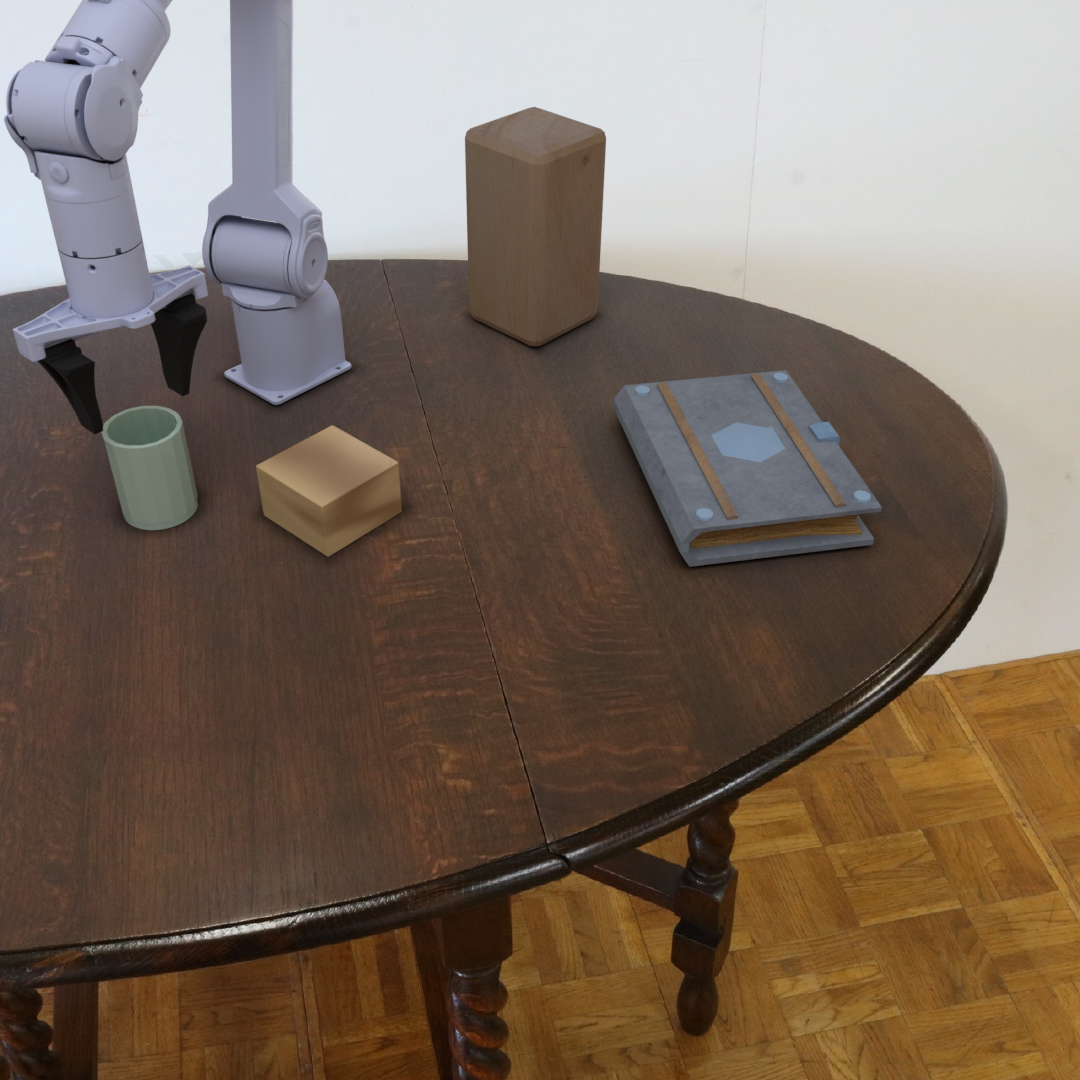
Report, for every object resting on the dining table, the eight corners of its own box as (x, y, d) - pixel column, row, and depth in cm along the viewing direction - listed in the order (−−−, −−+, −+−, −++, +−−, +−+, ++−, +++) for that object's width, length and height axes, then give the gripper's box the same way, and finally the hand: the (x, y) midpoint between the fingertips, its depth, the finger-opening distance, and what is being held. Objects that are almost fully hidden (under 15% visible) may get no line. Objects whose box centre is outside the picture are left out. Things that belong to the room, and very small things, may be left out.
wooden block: (601, 318, 124) (611, 127, 111) (535, 353, 118) (538, 155, 105) (531, 287, 129) (533, 101, 116) (465, 319, 123) (460, 127, 111)
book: (612, 425, 108) (615, 377, 105) (783, 408, 111) (791, 361, 108) (678, 572, 92) (683, 521, 89) (876, 548, 95) (889, 498, 92)
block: (338, 473, 101) (332, 424, 98) (402, 511, 97) (399, 461, 94) (263, 515, 97) (255, 465, 94) (328, 557, 93) (321, 506, 90)
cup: (170, 477, 101) (152, 397, 96) (213, 506, 98) (197, 424, 93) (108, 509, 97) (86, 427, 92) (151, 540, 94) (130, 457, 89)
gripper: (33, 293, 77) (79, 467, 85) (220, 228, 85) (245, 392, 94) (-20, 260, 80) (28, 430, 89) (164, 201, 89) (192, 361, 97)
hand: (136, 408), depth 91 cm, fingers open, 7 cm apart
